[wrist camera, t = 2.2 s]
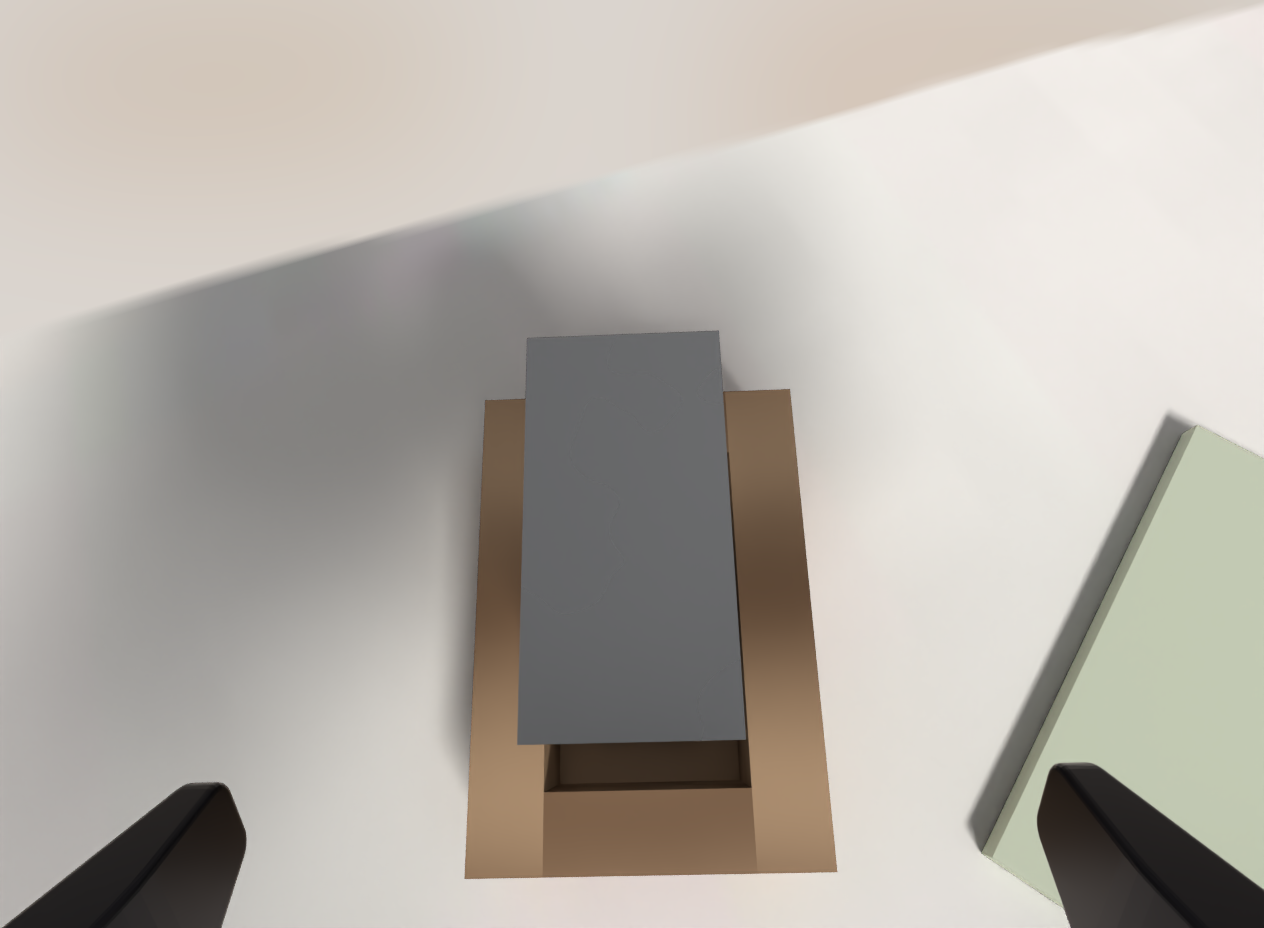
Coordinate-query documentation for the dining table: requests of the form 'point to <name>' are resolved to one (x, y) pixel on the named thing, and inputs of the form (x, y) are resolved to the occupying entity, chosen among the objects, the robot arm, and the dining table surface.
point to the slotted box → (658, 771)
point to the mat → (1169, 670)
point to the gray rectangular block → (627, 544)
